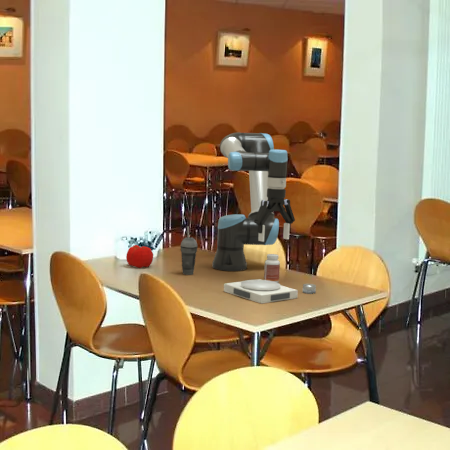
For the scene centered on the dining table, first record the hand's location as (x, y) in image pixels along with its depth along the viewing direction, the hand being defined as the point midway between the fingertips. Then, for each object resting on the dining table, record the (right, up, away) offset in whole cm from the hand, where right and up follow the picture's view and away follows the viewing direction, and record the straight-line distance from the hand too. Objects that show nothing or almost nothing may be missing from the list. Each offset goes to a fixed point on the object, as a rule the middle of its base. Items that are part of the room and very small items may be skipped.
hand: (273, 240), depth 335 cm
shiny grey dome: (+13, -20, -14) cm, 28 cm away
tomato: (-57, -12, +21) cm, 62 cm away
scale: (-6, -20, -22) cm, 31 cm away
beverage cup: (-35, -15, +11) cm, 40 cm away
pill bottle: (-1, -17, +3) cm, 17 cm away
